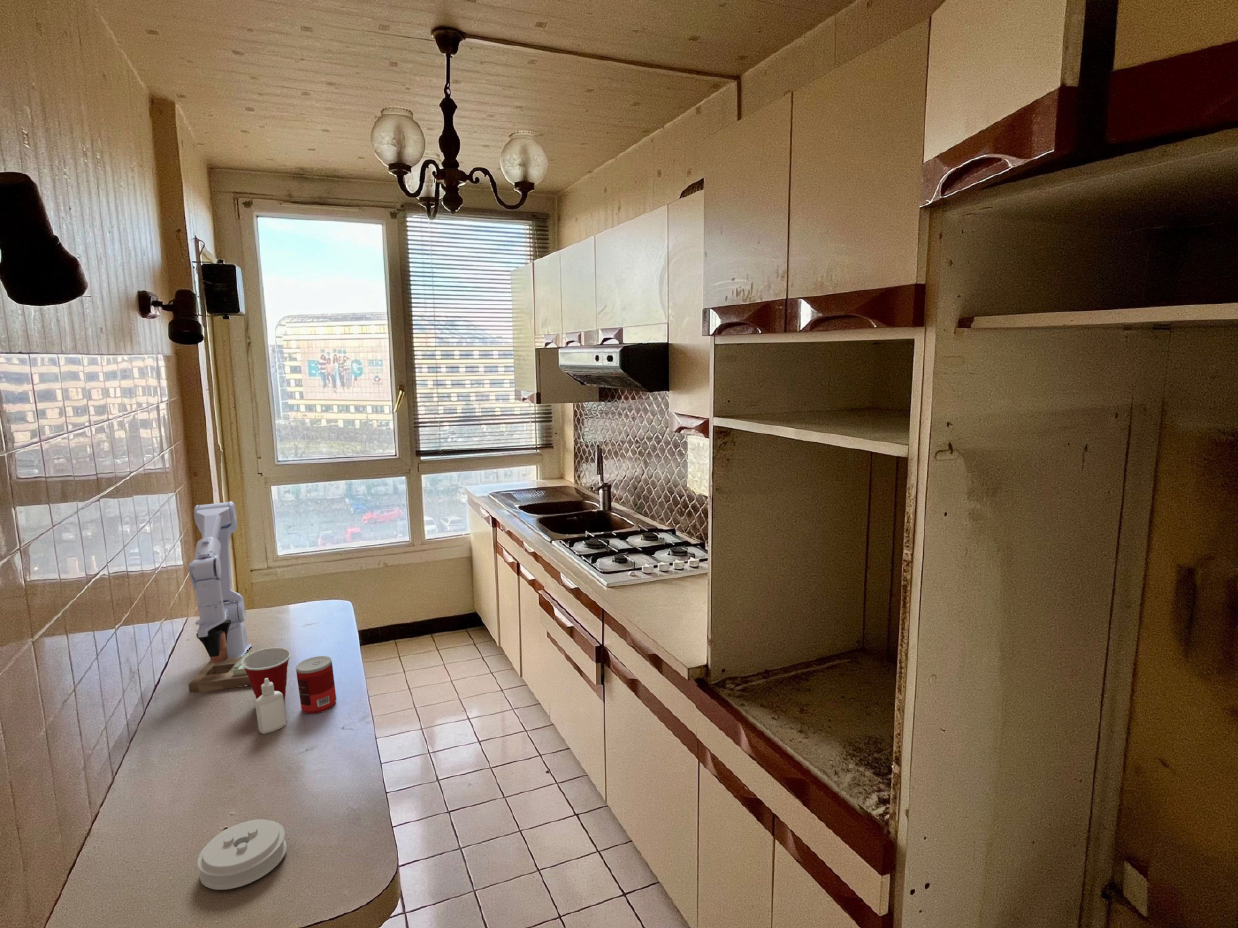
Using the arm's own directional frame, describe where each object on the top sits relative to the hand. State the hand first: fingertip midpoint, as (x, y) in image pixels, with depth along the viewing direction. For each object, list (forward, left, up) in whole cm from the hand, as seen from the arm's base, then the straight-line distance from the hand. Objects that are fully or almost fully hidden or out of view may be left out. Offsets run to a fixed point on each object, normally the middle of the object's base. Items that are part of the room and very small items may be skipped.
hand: (217, 652), depth 182 cm
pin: (0, 0, -2) cm, 2 cm away
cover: (0, +9, -5) cm, 10 cm away
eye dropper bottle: (+31, +22, -8) cm, 39 cm away
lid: (+76, +31, -8) cm, 82 cm away
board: (0, +4, -7) cm, 8 cm away
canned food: (+23, +30, -8) cm, 39 cm away
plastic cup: (+18, +18, -7) cm, 27 cm away
